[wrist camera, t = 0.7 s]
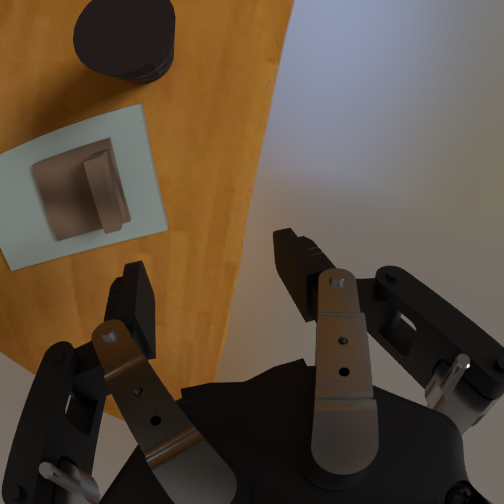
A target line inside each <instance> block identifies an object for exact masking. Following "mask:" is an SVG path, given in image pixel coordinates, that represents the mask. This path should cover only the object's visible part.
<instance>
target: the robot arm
mask: <svg viewBox="0 0 504 504" xmlns="http://www.w3.org/2000/svg"><path fill="white" fill-rule="evenodd" d="M273 243H274V256H275V264H276V269H277V272H278V274H279V276H280V278H281V280H282V281H283V283H284V285H285V287H286V288H287V290H288V292H289V294H290V295H291V297H292V299H293V301H294V302H295V304H296V306H297V308H298V309H299V311H300V313H301V315H302V317H303V318H304V320H305V322H309V321H313V320H315V322H316V323H317V328H316V350H315V366H307V365H306V363H305V361H304V359H303V358H302V359H299V360H296V361H293V362H289V363H286V364H282V365H279V366H275V367H273V368H271V369H269V370H267V371H265V372H263V373H261V374H259V375H257V376H255V377H253V378H252V379H249V380H248V381H245V382H226V383H207V384H203V385H198V386H193V387H188V388H183V389H181V394H182V398H181V399H178V400H177V401H175V400H174V399H173V397H172V396H171V394H170V393H169V392H168V390H167V389H166V387H165V386H164V385H163V383H162V382H161V380H160V379H159V377H158V376H157V374H156V373H155V371H154V370H153V368H152V367H151V365H150V364H149V362H148V360H149V359H155V358H156V342H155V298H154V293H153V290H152V287H151V284H150V281H149V278H148V276H147V273H146V270H145V267H144V264H143V262H142V261H137V262H133V263H128V264H125V267H124V272H123V276H122V277H118V278H116V279H115V281H114V282H113V283H112V285H111V287H110V292H109V296H108V302H107V306H106V312H105V317H104V322H103V323H101V324H100V325H99V326H97V327H96V328H95V330H94V331H93V333H92V337H91V340H92V341H90V342H88V343H86V344H84V345H82V346H80V347H78V348H75V349H74V348H73V346H72V345H71V344H70V343H69V342H66V341H62V342H58V343H55V344H54V345H52V346H51V347H50V348H49V349H48V350H47V351H46V353H45V355H44V357H43V359H42V361H41V364H40V366H39V369H38V371H37V374H36V376H35V379H34V381H33V384H32V386H31V389H30V392H29V394H28V397H27V400H26V403H25V405H24V408H23V411H22V414H21V417H20V420H19V423H18V426H17V430H16V433H15V436H14V440H13V443H12V447H11V451H10V454H9V458H8V462H7V466H6V470H5V475H4V480H3V484H2V497H3V501H4V503H5V504H492V503H491V502H490V501H488V500H487V499H486V498H484V497H483V496H482V495H481V494H480V493H478V491H476V489H475V488H474V487H473V486H472V485H471V483H470V482H469V479H468V476H467V473H466V469H465V464H464V452H463V440H462V435H463V433H464V432H465V431H466V430H467V429H468V428H469V427H471V426H474V425H475V424H477V423H478V422H479V421H480V420H481V419H482V418H483V417H484V415H486V413H487V412H488V411H489V410H490V409H491V408H492V407H493V406H494V405H495V403H496V402H497V401H498V400H499V399H500V397H501V396H502V395H503V394H504V347H503V346H501V345H500V344H499V343H498V342H497V341H496V340H494V339H493V338H492V337H491V336H489V335H488V334H487V333H486V332H485V331H484V330H482V329H481V328H480V327H479V326H477V325H476V324H475V323H474V322H473V321H471V320H470V319H469V318H467V317H466V316H465V315H464V314H463V313H461V312H460V311H459V310H457V309H456V308H455V307H454V306H452V305H451V304H450V303H448V302H447V301H446V300H445V299H443V298H442V297H440V296H439V295H438V294H437V293H435V292H434V291H433V290H431V289H430V288H429V287H427V286H426V285H425V284H423V283H422V282H420V281H419V280H418V279H416V278H415V277H414V276H412V275H411V274H409V273H408V272H407V271H405V270H404V269H402V268H400V267H396V266H384V267H381V268H380V269H378V270H377V272H376V276H375V278H369V279H355V276H354V275H353V274H352V273H351V272H349V271H347V270H345V269H340V268H336V267H335V266H334V265H333V264H332V263H331V261H330V260H329V259H328V258H327V257H326V255H325V254H324V253H322V251H321V250H320V248H318V246H317V245H316V244H315V243H314V242H313V241H312V240H310V239H308V238H306V237H304V236H302V237H297V235H296V234H295V233H294V232H293V230H292V229H291V228H287V229H282V230H277V231H274V232H273ZM401 314H403V315H404V316H406V317H407V318H408V319H409V320H410V321H411V322H412V323H413V324H414V325H415V327H416V331H415V330H414V329H413V328H412V327H411V326H410V325H409V324H407V323H406V322H405V321H404V320H403V319H402V318H401ZM367 332H368V333H369V334H370V335H371V336H372V337H373V338H374V339H375V340H376V341H377V342H378V343H379V344H380V345H381V346H382V347H383V348H384V349H385V350H386V351H387V352H388V353H389V354H390V355H391V356H392V357H393V358H394V359H395V360H396V361H397V362H398V363H399V364H401V366H402V367H403V368H404V369H405V370H406V371H407V372H408V373H409V374H410V375H411V376H412V377H413V378H414V379H415V380H416V381H417V382H418V383H419V384H420V385H421V386H422V387H423V388H424V389H425V398H426V401H427V403H428V404H427V406H428V407H425V406H423V405H420V404H418V403H415V402H413V401H410V400H408V399H405V398H403V397H400V396H398V395H395V394H393V393H390V392H388V391H385V390H383V389H381V388H378V387H376V386H374V385H372V374H371V362H370V354H369V353H370V352H369V344H368V336H367ZM110 394H112V396H113V398H114V400H115V402H116V404H117V406H118V408H119V410H120V412H121V414H122V416H123V418H124V420H125V422H126V423H127V425H128V427H129V429H130V431H131V433H132V434H133V436H134V438H135V440H136V441H137V443H138V445H137V447H136V448H135V450H134V451H133V453H132V454H131V456H130V457H129V459H128V460H127V462H126V463H125V465H124V466H123V468H122V469H121V471H120V472H119V473H118V475H117V476H116V478H115V479H114V481H113V482H112V484H111V485H110V487H109V488H108V490H107V491H106V493H105V494H104V496H103V497H102V499H101V500H100V498H101V496H100V494H99V490H98V485H97V483H96V481H95V480H94V478H93V477H92V469H93V462H94V456H95V450H96V445H97V439H98V433H99V428H100V423H101V418H102V414H103V409H104V404H105V400H106V396H107V395H110ZM69 395H70V396H71V398H70V402H69V406H68V409H67V413H65V408H66V405H67V401H68V398H69Z"/></svg>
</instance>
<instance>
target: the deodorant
mask: <svg viewBox="0 0 504 504" xmlns="http://www.w3.org/2000/svg"><path fill="white" fill-rule="evenodd" d="M175 18H176V17H175V13H174V8H173V5H172V4H171V2H170V0H92V1H91V2H90V3H89V4H88V5H87V6H86V7H85V8H84V10H83V11H82V13H81V14H80V16H79V17H78V20H77V23H76V25H75V28H74V36H73V43H74V48H75V52H76V54H77V55H78V57H79V59H80V61H81V62H82V63H83V64H85V65H86V66H87V67H88V68H89V69H91V70H94V71H96V72H98V73H101V74H105V75H108V76H112V77H116V78H119V79H123V80H127V81H130V82H134V83H139V84H142V83H149V82H153V81H155V80H157V79H159V78H160V77H162V76H163V75H164V74H165V73H166V72H167V71H168V69H169V68H170V66H171V64H172V61H173V57H174V36H175Z"/></svg>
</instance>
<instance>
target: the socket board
mask: <svg viewBox="0 0 504 504" xmlns="http://www.w3.org/2000/svg"><path fill="white" fill-rule="evenodd" d="M109 137H110V138H111V142H112V147H113V151H114V155H115V160H116V164H117V168H118V172H119V176H120V180H121V184H122V187H123V191H124V195H125V199H126V202H127V206H128V209H129V213H130V216H131V221H130V222H127V223H123V225H122V228H121V230H120V231H116V232H112V233H108V234H105V232H104V229H100V230H96V231H93V232H89V233H85V234H82V235H78V236H75V237H71V238H68V239H64V240H61V241H58V240H57V238H56V235H55V233H54V230H53V228H52V225H51V222H50V220H49V217H48V214H47V211H46V208H45V206H44V203H43V200H42V197H41V194H40V191H39V187H38V184H37V181H36V178H35V174H34V171H33V167H32V165H33V164H34V163H36V162H39V161H41V160H44V159H47V158H49V157H52V156H55V155H57V154H60V153H63V152H66V151H68V150H71V149H74V148H77V147H80V146H83V145H86V144H89V143H93V142H96V141H99V140H102V139H106V138H109ZM167 230H168V222H167V218H166V214H165V210H164V206H163V202H162V197H161V193H160V189H159V185H158V180H157V176H156V171H155V166H154V162H153V157H152V152H151V147H150V142H149V137H148V132H147V127H146V121H145V116H144V110H143V104H142V103H141V104H137V105H133V106H129V107H126V108H122V109H118V110H115V111H111V112H108V113H105V114H101V115H98V116H95V117H92V118H89V119H86V120H83V121H80V122H77V123H74V124H71V125H68V126H66V127H63V128H60V129H58V130H55V131H52V132H50V133H47V134H45V135H42V136H40V137H38V138H35V139H33V140H31V141H28V142H26V143H24V144H21V145H19V146H17V147H15V148H13V149H11V150H9V151H6V152H4V153H2V154H0V248H1V250H2V253H3V255H4V257H5V259H6V261H7V263H8V265H9V267H10V269H11V271H14V270H17V269H20V268H24V267H27V266H31V265H34V264H38V263H41V262H45V261H48V260H52V259H56V258H59V257H63V256H67V255H70V254H74V253H78V252H82V251H86V250H89V249H93V248H97V247H101V246H105V245H109V244H113V243H117V242H121V241H125V240H129V239H133V238H137V237H141V236H146V235H150V234H154V233H158V232H163V231H167Z"/></svg>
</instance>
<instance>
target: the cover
mask: <svg viewBox="0 0 504 504" xmlns="http://www.w3.org/2000/svg"><path fill="white" fill-rule="evenodd" d="M32 167H33V171H34V174H35V178H36V181H37V184H38V187H39V191H40V194H41V197H42V200H43V203H44V206H45V208H46V211H47V214H48V217H49V220H50V222H51V225H52V228H53V230H54V233H55V235H56V238H57V240H58V241H61V240H64V239H68V238H71V237H75V236H78V235H82V234H85V233H89V232H93V231H96V230H100V229H104V232H105V234H108V233H112V232H116V231H120V230H121V228H122V225H123V223H127V222H130V221H131V216H130V213H129V209H128V206H127V202H126V199H125V195H124V191H123V187H122V184H121V180H120V176H119V172H118V168H117V164H116V160H115V155H114V151H113V147H112V142H111V138H110V137H109V138H106V139H102V140H99V141H96V142H93V143H89V144H86V145H83V146H80V147H77V148H74V149H71V150H68V151H66V152H63V153H60V154H57V155H55V156H52V157H49V158H47V159H44V160H41V161H39V162H36V163H34V164H33V165H32Z"/></svg>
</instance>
